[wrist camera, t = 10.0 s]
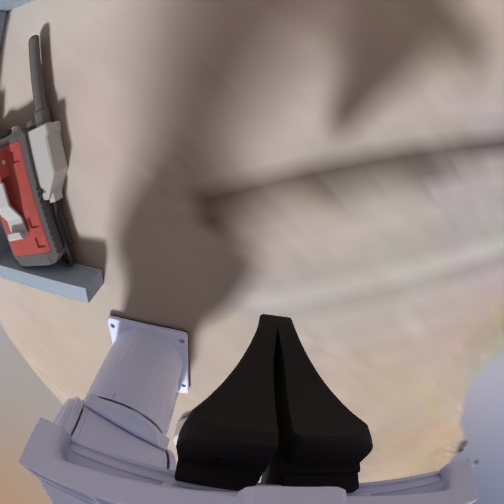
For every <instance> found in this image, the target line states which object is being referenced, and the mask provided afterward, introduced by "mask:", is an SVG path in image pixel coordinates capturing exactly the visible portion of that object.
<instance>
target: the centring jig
mask: <svg viewBox="0 0 504 504" xmlns="http://www.w3.org/2000/svg"><path fill="white" fill-rule="evenodd" d="M30 1H33V0H0V47H1V41H2V35H3V29H4V24H5V19H6V14H7V11H9V10H11V9H14V8H16V7H18V6H21V5H23V4H25V3H28V2H30ZM0 277H2V278H5V279H8V280H11V281H14V282H17V283H20V284H23V285H27V286H30V287H33V288H36V289H40V290H43V291H46V292H50V293H53V294H57V295H60V296H64V297H67V298H71V299H75V300H79V301H82V302H86V303H89V302H90V300H91V299H92V298H93V297H94V295H95V294H96V293H97V291H98V290H99V289H100V287H101V286H102V285H103V283H104V281H103V274H102V269H100V268H95V267H90V266H85V265H81V264H76V263H74V264H73V265H72V267H69V268H68V267H64V266H63V265H62V264H61V262H60V261H59V260H58V261H57V262H56V263H54V264H51V265H41V266H28V267H21V266H20V265H19V264H18V262H17V261H16V260H15V257H14V255H13V252H12V250H11V247H10V245H9V242H8V239H7V237H6V234H5V231H4V229H3V225H2V223H1V219H0Z"/></svg>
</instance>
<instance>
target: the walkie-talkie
mask: <svg viewBox="0 0 504 504" xmlns="http://www.w3.org/2000/svg"><path fill="white" fill-rule="evenodd" d="M29 59H30V72H31V82H32V91H33V98H34V106H35V113H34V117H35V120H31V121H28V122H26V128H25V129H21V127H20V125H17V126H14V127H12V128H11V129H12V133H10V130H6V131H2V132H0V219H1V223H2V225H3V229H4V231H5V234H6V237H7V239H8V242H9V245H10V247H11V250H12V252H13V255H14V257H15V260H16V261H17V262H18V264H19V265H20V266H21V267H28V266H41V265H51V264H54V263H56V262H57V261H58V260H59V261H60V262H61V264H62V265H63V266H64V267H68V268H69V267H72V265H73V264H74V263H75V261H76V260H75V254H74V251H73V248H72V241H71V236H70V235H69V230H68V229H67V224H66V223H65V218H64V217H63V212H62V211H61V203H60V199H61V198H62V197H63V194H62V190H63V186H64V182H65V178H66V174H67V170H68V164H67V160H66V156H65V151H64V146H63V141H62V136H61V129H62V128H61V123H60V121H55V122H51V118H50V112H49V108H47V102H46V95H45V87H44V78H43V68H42V64H41V60H40V47H39V36H38V35H34V36H32V37H31V38H30V39H29ZM66 253H67V254H68V257H69V261H68V260H67V259H66V257H65V255H64V254H66Z"/></svg>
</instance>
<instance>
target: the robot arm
mask: <svg viewBox="0 0 504 504" xmlns="http://www.w3.org/2000/svg"><path fill="white" fill-rule="evenodd" d="M107 321H108V325H109V330H110V335H111V339H112V343H113V345H112V347H111V349H110V351H109V353H108V355H107V356H106V358H105V360H104V362H103V364H102V366H101V368H100V370H99V372H98V374H97V375H96V377H95V379H94V381H93V383H92V385H91V387H90V389H89V391H88V393H87V395H86V397H85V399H84V400H83V401H82V400H81V399H80V398H78V397H75V398H72V399H68V400H67V401H66V402H65V403H64V405H63V406H62V408H61V409H60V411H59V413H58V414H57V416H56V418H55V420H54V421H53V422H50V421H48V420H46V419H44V418H40V419H39V421H38V423H37V424H36V426H35V428H34V430H33V432H32V434H31V436H30V438H29V440H28V443H27V444H26V446H25V448H24V450H23V453H22V455H21V457H20V459H19V462H20V463H21V464H22V465H23V466H24V467H25V468H27V469H28V470H29V471H30V472H31V473H33V474H34V475H35V476H36V477H37V478H38V479H39V481H40V483H41V484H42V486H43V487H44V489H45V491H46V493H47V494H48V496H49V497H50V499H51V500H52V502H53V503H54V504H471V503H473V502H475V501H476V500H478V499H479V495H478V490H477V486H476V482H475V478H474V475H473V471H472V468H471V464H470V461H469V459H468V458H465V459H462V460H458V461H454V462H451V463H449V464H447V465H445V466H444V467H443V468H441V469H440V471H435V472H431V473H426V474H421V475H416V476H411V477H405V478H399V479H392V480H385V481H377V482H367V483H359V481H358V472H360V462H361V461H362V460H363V459H364V458H365V457H366V456H367V455H368V454H369V453H370V452H371V450H372V447H373V444H372V439H371V435H370V432H369V429H368V426H367V424H366V423H364V422H363V421H362V420H361V419H359V418H358V417H357V416H356V415H354V414H353V413H352V412H351V411H350V410H349V409H348V408H347V407H345V406H344V405H343V404H342V403H341V401H340V400H339V399H338V398H337V397H336V396H335V395H334V394H333V393H332V392H331V390H330V389H329V388H328V387H327V385H326V384H325V383H324V381H323V380H322V379H321V377H320V376H319V374H318V373H317V371H316V370H315V368H314V366H313V365H312V363H311V361H310V360H309V358H308V356H307V354H306V352H305V350H304V348H303V346H302V344H301V342H300V340H299V337H298V335H297V333H296V330H295V328H294V325H293V322H292V320H291V318H288V317H281V316H273V315H266V314H262V315H261V316H260V319H259V324H258V328H257V331H256V333H255V335H254V337H253V339H252V342H251V344H250V345H249V347H248V349H247V351H246V352H245V354H244V356H243V357H242V359H241V360H240V362H239V363H238V365H237V366H236V367H235V369H234V370H233V371H232V373H231V374H230V375H229V376H228V377H227V379H226V380H225V381H224V382H223V383H222V384H221V385H220V386H219V387H218V388H217V389H216V390H215V391H214V392H213V393H212V394H211V395H210V396H209V397H208V398H207V399H206V400H204V401H203V402H202V403H201V404H199V405H198V406H197V407H196V408H194V409H193V410H192V412H191V413H190V415H189V416H188V417H187V419H186V421H185V422H184V424H183V426H182V428H181V430H180V432H179V435H178V440H177V445H176V448H177V454H178V462H177V465H176V460H175V456H174V454H173V453H172V451H170V450H169V449H167V447H168V443H169V438H168V437H166V434H167V432H168V428H169V425H170V421H171V418H172V414H173V411H174V407H175V404H176V400H177V397H178V393H179V392H181V393H188V391H189V377H188V334H187V333H186V332H184V331H180V330H175V329H170V328H165V327H160V326H155V325H150V324H146V323H141V322H137V321H132V320H128V319H124V318H120V317H115V316H109V318H108V319H107ZM113 324H114V325H113ZM181 339H182V340H181ZM261 475H262V479H261V483H258V481H259V479H260V477H261Z"/></svg>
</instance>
